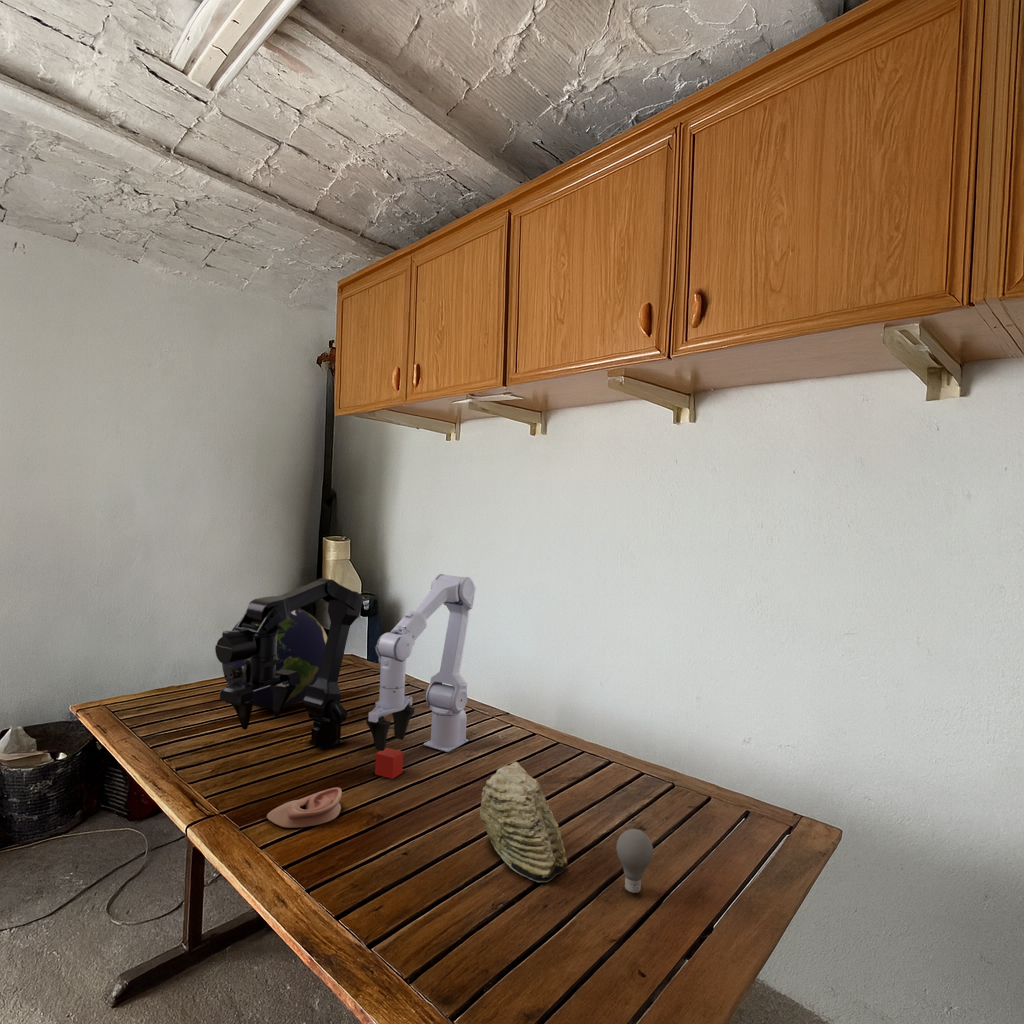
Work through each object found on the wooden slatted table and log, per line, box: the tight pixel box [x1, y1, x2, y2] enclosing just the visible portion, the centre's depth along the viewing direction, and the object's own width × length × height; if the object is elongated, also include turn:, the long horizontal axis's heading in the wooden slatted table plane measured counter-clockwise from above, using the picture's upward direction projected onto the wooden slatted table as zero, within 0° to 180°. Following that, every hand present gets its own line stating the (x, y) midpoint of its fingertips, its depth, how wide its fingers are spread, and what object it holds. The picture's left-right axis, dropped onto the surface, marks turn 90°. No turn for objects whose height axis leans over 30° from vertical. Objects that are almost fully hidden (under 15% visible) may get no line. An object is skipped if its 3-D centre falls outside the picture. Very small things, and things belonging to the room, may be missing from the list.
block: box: [374, 747, 404, 780], centre depth 146 cm, size 4×5×5 cm
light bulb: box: [615, 828, 654, 894], centre depth 106 cm, size 6×6×10 cm
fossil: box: [479, 761, 569, 883], centre depth 114 cm, size 9×18×15 cm, turn 46°
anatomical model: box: [266, 786, 343, 829], centre depth 126 cm, size 13×4×12 cm
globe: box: [221, 608, 328, 710], centre depth 188 cm, size 30×30×30 cm
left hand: (260, 722), depth 145 cm, fingers open, 9 cm apart
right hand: (389, 744), depth 146 cm, fingers open, 7 cm apart
